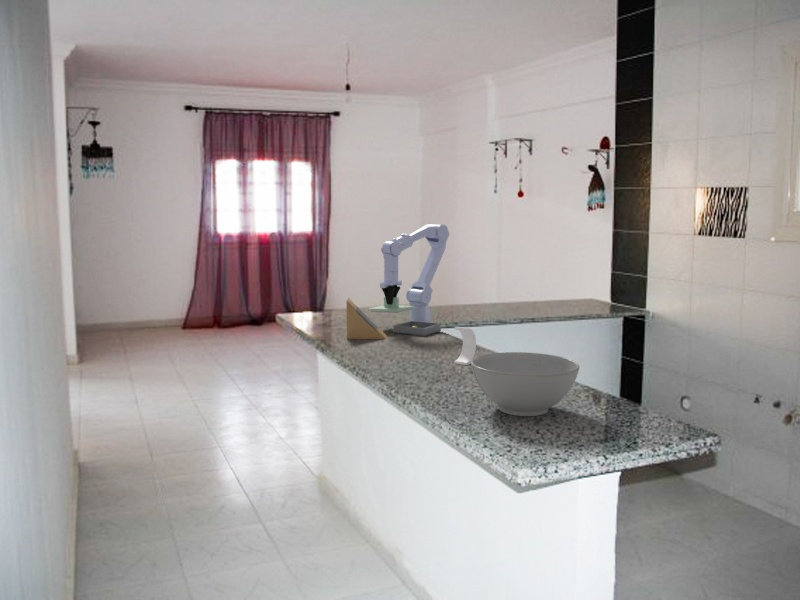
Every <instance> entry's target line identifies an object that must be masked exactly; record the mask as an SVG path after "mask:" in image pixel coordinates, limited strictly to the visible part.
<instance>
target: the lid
mask: <svg viewBox="0 0 800 600" xmlns="http://www.w3.org/2000/svg"><path fill="white" fill-rule="evenodd" d="M399 300H400V297H398V296H397V297H393V303H392V305H388V304H387V302H386V298H385V296H384V297H383V305H379V306H374V307H370V308H368V309H367V311H370V313H388V314H389V313H391V314H393V313H394V314H398V313H402V312H407V311H410V310H411V309H412V308H415V306H410V305H403V304H402V305H400V301H399Z"/></svg>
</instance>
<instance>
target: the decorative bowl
mask: <svg viewBox="0 0 800 600" xmlns="http://www.w3.org/2000/svg"><path fill="white" fill-rule="evenodd" d="M470 367H471V371H472V374H473V377H474V380H475V381H476V384H477V385H478V387H479V388H480V390H481V391H482V392H483V394H484V395H485V396H486V397H487V398H488V400H490V401H491V402H493V403H494V404H495V405H496V406H498V410H499V411H500V412H501V413H504V414H506V415H507V414H508V415H511V416H516V417H536V416H543V415H545V414H547V413H548V412H549V408H551V407H554V406H555V405H556V404H558V403H559V402H561V400H563V399H564V398H565V397H566V396H567V394H568V393H569V391H570V390H571V389H572V387H573V385H574V384H575V382H576V380H577V377H578V374H579V371H580V364H579V363H578V362H576V361H575V360H573V359H570V358H567V357H564V356H559V355H554V354H548V353H547V354H546V353H541V352H540V353H538V352H523V351H522V352H520V351H519V352H518V351H517V352H516V351H513V352H507V351H506V352H494V353H493V352H492V353H487V354H483V355H482V354H481V355H478V356H476V357H473V359H472V361H471V364H470Z"/></svg>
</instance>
